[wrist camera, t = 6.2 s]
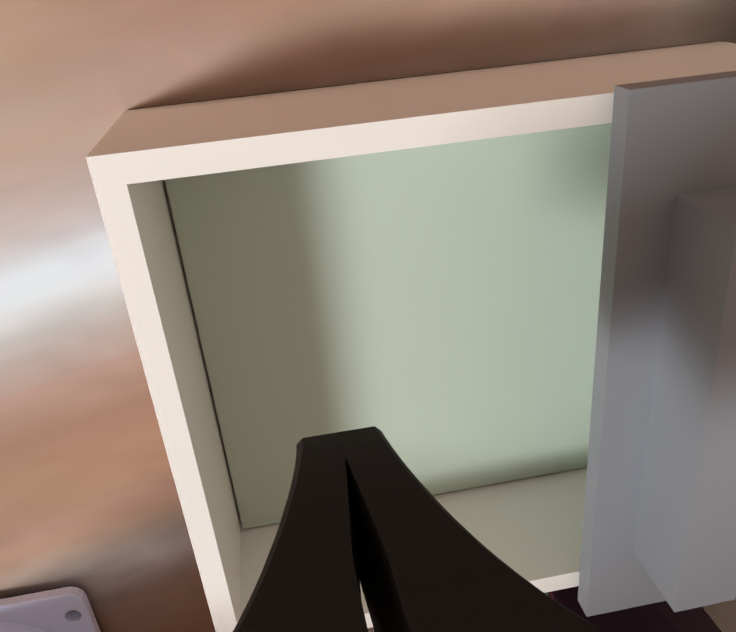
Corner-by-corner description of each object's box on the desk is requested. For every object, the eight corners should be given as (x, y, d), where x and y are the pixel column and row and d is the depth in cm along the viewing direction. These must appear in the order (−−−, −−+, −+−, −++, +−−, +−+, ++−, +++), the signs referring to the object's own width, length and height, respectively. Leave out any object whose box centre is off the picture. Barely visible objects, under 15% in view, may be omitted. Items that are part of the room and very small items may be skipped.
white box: (665, 449, 25) (755, 550, 21) (226, 529, 24) (222, 657, 19) (721, 41, 19) (866, 62, 15) (125, 110, 17) (86, 156, 13)
